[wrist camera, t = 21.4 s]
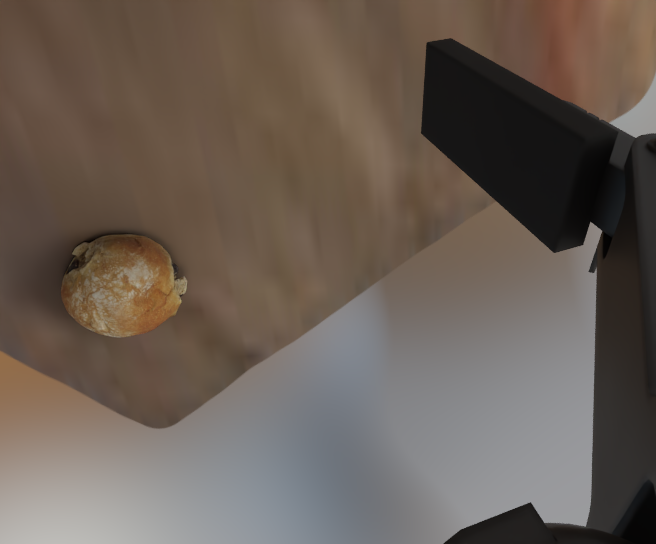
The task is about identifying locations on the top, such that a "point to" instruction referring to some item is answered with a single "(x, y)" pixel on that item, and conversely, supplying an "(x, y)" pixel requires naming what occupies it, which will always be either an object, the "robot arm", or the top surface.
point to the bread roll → (122, 285)
